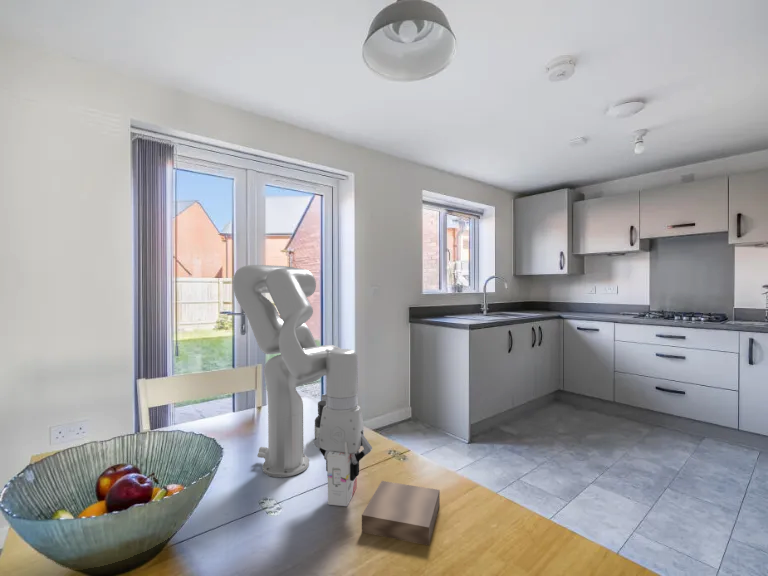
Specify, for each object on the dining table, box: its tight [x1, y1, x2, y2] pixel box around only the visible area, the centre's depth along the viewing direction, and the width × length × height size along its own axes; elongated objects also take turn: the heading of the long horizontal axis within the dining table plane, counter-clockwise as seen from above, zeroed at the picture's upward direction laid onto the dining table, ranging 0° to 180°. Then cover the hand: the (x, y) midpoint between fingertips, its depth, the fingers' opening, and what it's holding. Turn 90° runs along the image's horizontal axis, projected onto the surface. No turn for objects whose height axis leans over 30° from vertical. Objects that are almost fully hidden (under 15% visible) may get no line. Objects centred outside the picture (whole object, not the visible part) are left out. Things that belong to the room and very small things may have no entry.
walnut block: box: [361, 480, 441, 546], centre depth 82 cm, size 14×14×4 cm
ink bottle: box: [314, 399, 326, 441], centre depth 124 cm, size 10×9×12 cm
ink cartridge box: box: [326, 442, 358, 507], centre depth 90 cm, size 9×5×15 cm, turn 168°
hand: (342, 475), depth 90 cm, fingers closed on ink cartridge box, 5 cm apart
